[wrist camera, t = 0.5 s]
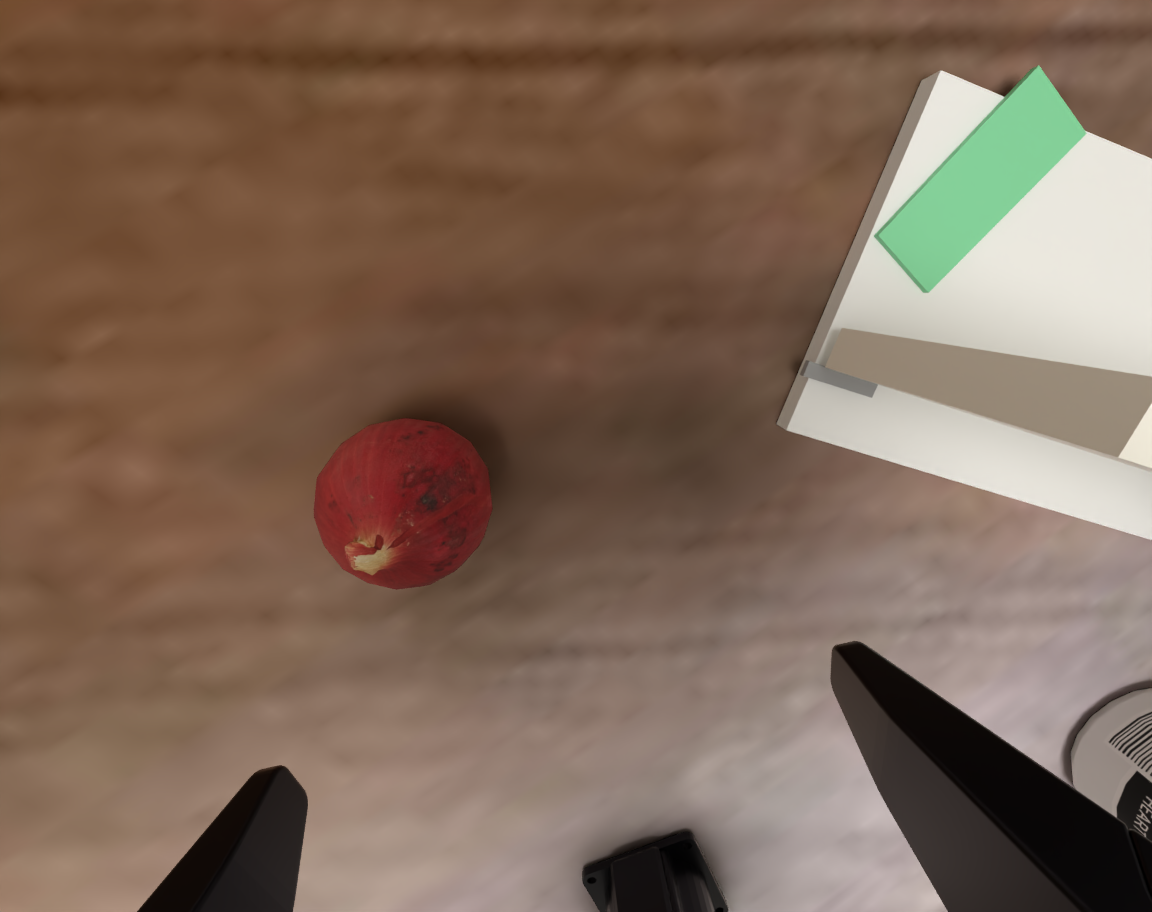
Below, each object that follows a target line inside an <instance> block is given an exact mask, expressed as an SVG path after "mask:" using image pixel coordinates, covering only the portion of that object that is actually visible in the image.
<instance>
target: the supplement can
mask: <svg viewBox="0 0 1152 912" xmlns="http://www.w3.org/2000/svg"><path fill="white" fill-rule="evenodd" d="M1071 764H1072V776H1073V785H1074V787H1075V788H1076V790H1077V791H1079V792H1080V793H1082V794H1083V795H1085V796H1086V797H1087V798H1089V799H1090V800H1092V801H1093V802H1095V803H1096V804H1098V805H1099V806H1101V807H1102V808H1103V809H1105V810H1106V811H1108V812H1109V813H1111V814H1112V815H1114V816H1115V817H1117V818H1118V819H1119V820H1121V821H1122V822H1124V823H1125V824H1126V826H1127V828H1128V830H1129V829H1134V830H1136V831H1137V832H1139V833H1140V834H1142V835H1143V836H1145V837H1146V838H1147V839H1149V840H1150V841H1152V688H1149V689H1143V690H1137V691H1133V692H1131V693H1128V694H1126V695H1124V696H1122V697H1120V698H1117V699H1115V700H1113V701H1111V702H1109V703H1108V704H1107V705H1105V706H1104V707H1103V708H1102V709H1100V710H1099V711H1098V712H1096V713H1095V714H1094V715H1093V716H1091V717H1090V719H1089V720H1088V721H1087V722H1086V724H1085V725H1084V726H1083V728H1082V729H1081V730H1080V731H1079V733H1078V734H1077V736H1076V739H1075V742H1074V745H1073V747H1072V750H1071Z"/></svg>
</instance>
